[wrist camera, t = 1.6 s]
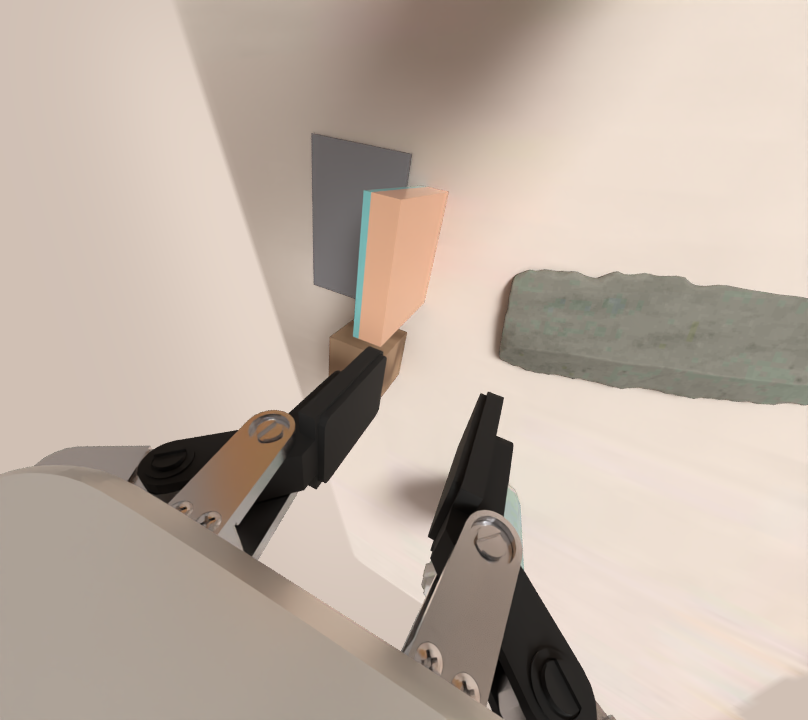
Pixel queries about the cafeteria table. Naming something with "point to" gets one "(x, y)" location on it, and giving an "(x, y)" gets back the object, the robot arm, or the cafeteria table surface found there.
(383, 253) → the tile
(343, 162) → the mat
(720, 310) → the stone slab
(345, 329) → the walnut block
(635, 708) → the cafeteria table surface
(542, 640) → the robot arm
